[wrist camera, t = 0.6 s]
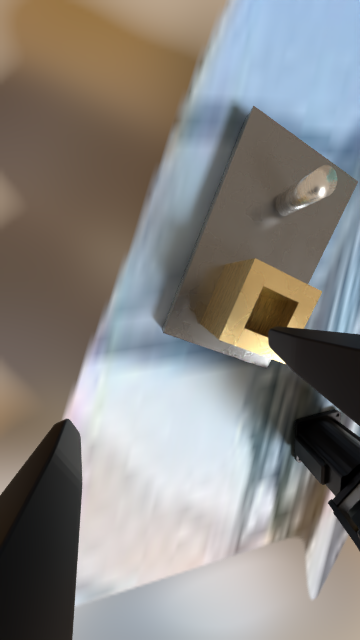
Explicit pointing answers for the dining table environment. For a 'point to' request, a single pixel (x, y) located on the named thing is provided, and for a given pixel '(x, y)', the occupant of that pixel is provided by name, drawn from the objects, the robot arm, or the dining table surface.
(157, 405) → the dining table surface
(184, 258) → the dining table surface
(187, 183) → the dining table surface
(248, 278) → the brass collar
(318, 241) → the base plate
